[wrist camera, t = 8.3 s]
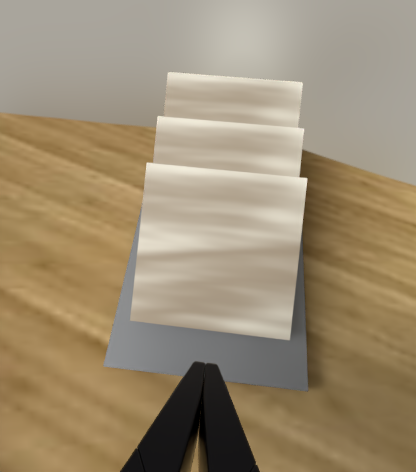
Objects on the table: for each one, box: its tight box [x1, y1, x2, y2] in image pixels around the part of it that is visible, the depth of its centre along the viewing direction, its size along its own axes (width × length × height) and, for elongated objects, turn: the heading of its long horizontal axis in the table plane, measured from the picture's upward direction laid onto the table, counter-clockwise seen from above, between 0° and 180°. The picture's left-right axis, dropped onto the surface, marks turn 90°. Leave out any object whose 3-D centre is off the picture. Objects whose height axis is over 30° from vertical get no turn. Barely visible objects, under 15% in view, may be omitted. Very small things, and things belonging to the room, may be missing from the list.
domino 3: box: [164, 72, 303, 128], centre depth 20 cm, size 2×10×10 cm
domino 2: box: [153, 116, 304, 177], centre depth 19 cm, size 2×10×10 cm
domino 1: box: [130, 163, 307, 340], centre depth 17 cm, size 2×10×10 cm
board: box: [104, 203, 308, 391], centre depth 20 cm, size 16×13×1 cm
